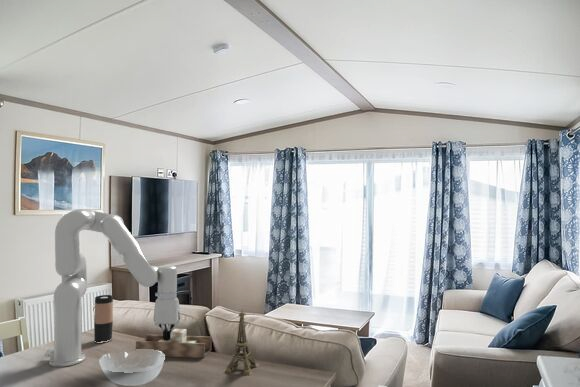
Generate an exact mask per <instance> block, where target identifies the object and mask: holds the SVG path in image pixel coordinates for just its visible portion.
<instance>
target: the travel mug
mask: <svg viewBox="0 0 580 387" xmlns="http://www.w3.org/2000/svg"><path fill="white" fill-rule="evenodd" d="M113 307H114V296H113V295H112V294H104V295H103V294H101V295H96V296H95V298H94V319H93V320H94V322H93V324H94V325H93V326H94V329H93V330H94V333H93V334H94V342H95V341H96V342H101V341H107V340H110V339H111V338H112V339H113V322H114V321H113V320H114V315H113V314H114V308H113Z"/></svg>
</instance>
